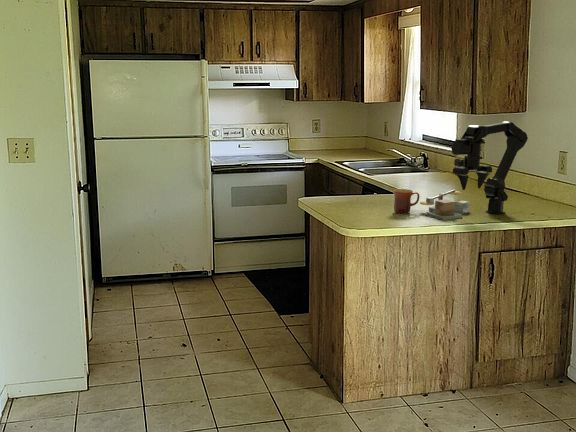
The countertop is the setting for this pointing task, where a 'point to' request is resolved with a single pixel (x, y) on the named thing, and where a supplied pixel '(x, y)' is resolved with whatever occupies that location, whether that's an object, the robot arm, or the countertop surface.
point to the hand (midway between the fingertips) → (471, 189)
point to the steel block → (461, 206)
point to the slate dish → (432, 214)
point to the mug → (403, 200)
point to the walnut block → (444, 207)
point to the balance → (440, 197)
